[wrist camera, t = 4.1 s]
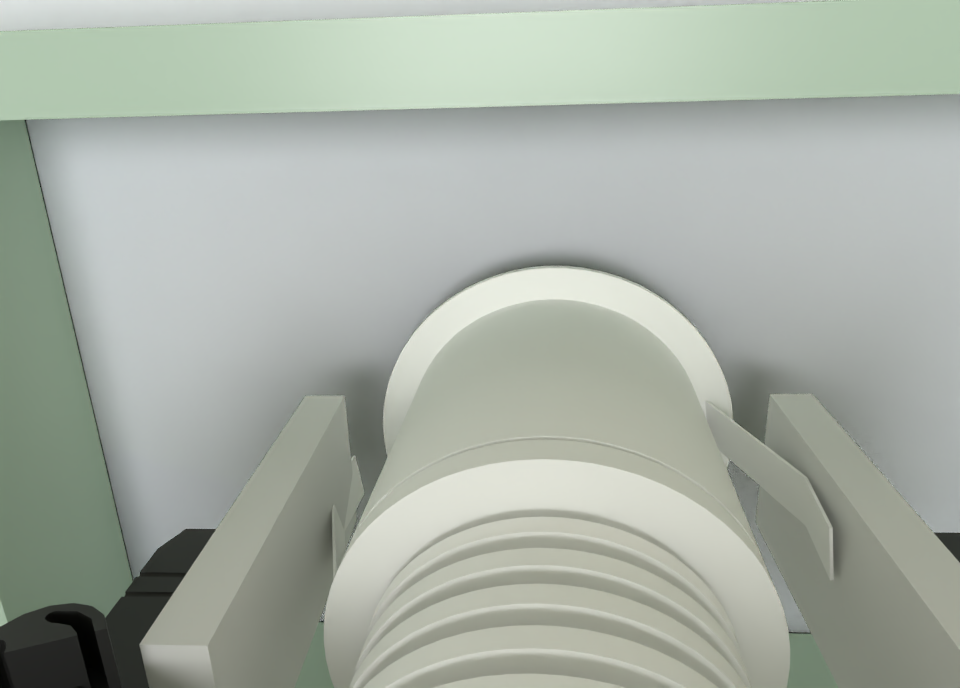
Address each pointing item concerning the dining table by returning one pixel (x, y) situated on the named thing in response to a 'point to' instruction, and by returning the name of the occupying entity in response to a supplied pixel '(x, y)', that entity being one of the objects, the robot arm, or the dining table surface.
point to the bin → (349, 87)
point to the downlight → (561, 504)
